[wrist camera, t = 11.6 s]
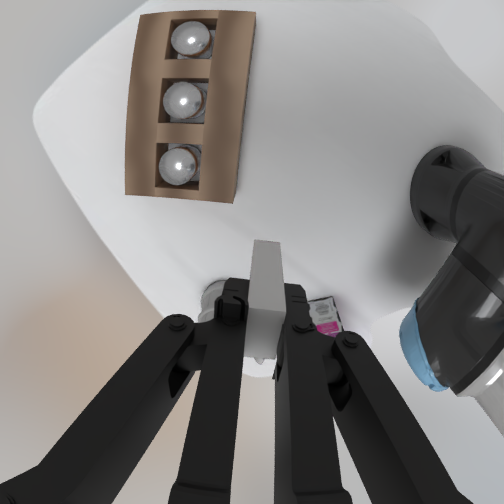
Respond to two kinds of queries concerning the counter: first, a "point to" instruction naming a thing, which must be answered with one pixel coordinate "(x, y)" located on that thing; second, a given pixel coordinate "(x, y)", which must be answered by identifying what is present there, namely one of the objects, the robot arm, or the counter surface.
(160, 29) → the wooden candle holder
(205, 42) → the knob
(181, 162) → the knob
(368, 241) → the counter surface
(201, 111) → the knob
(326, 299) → the candy bar box
